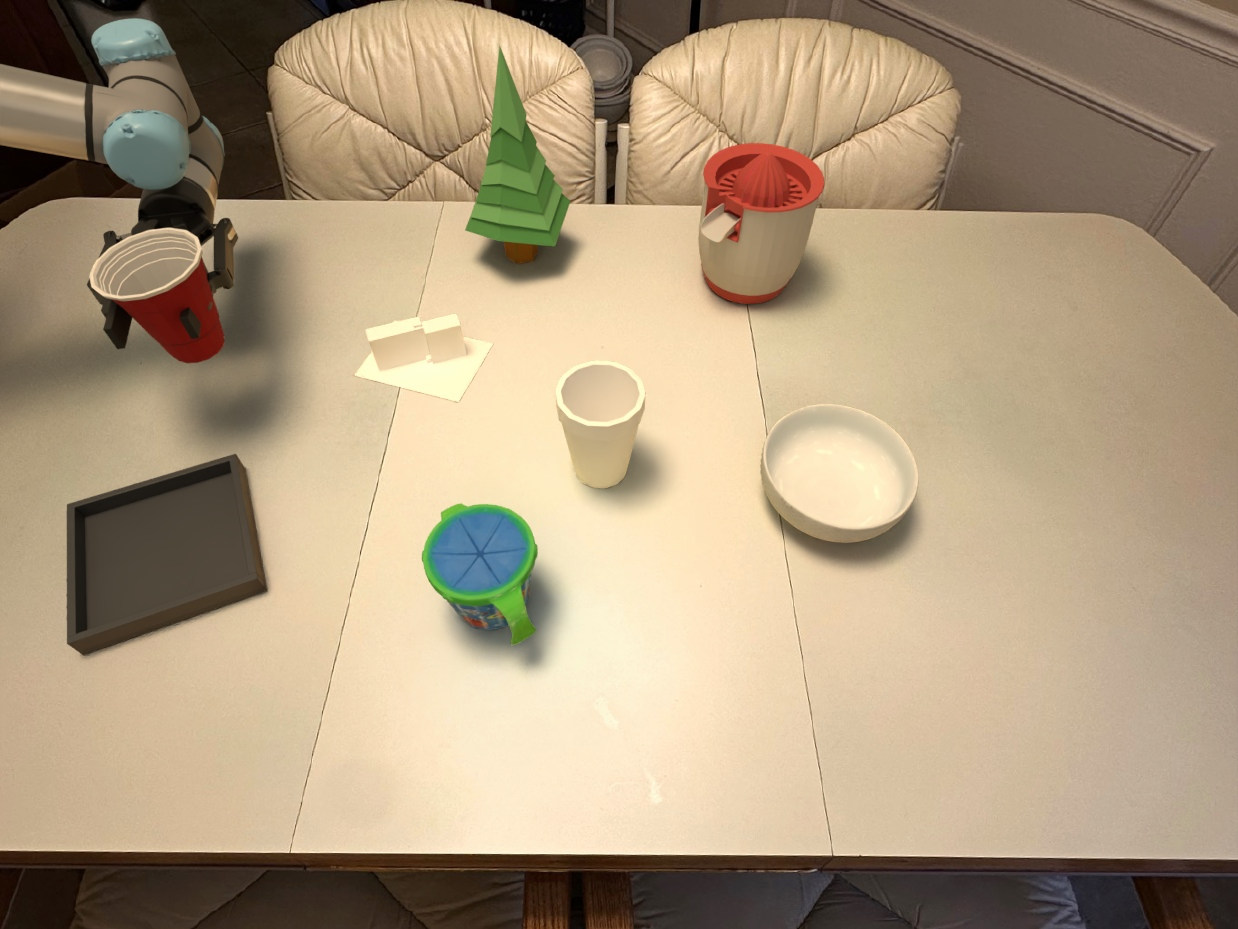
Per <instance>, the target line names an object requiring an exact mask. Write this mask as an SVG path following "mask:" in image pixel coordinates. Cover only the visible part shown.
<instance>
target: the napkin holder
mask: <svg viewBox="0 0 1238 929" xmlns="http://www.w3.org/2000/svg"><path fill="white" fill-rule="evenodd" d="M365 333H366V337H367V340H368V343H369V347H370V349H371V352H370V353H369V354H368V356H367V357H366V358H365V360H364V361H363V362H362V364H361V365H360V367H359V368H358V369H357V371H356V372H355V374H354V377H358V378H362V379H366V380H368V381H374V382H378V383H382V384H385V385H388V386H389V385H390V386H393V387H397V388H402V389H405V390H409V391H413V392H417V393H422V394H425V395H429V396H432V397H437V398H441V399H445V400H449V401H453V402H457V403H459V402H460V401H461V399H462V397H463V396H464V394H465V392H466V391H467V389H468V387H469V386H470V384H471V382H472V380H473V379H474V377H476V374H477V372H478V371H479V369H480V367H481V366H482V364H483V362H484V360H485V359H486V358H487V355H488V354H489V352H490V351H491V349H492V347H493V345H494V343H493V342H488V341H485V340H481V339H480V340H479V339H475V338H471V337H467V336H464V335H463V329H462V325H461V321H460V319H459V317H458V315H457V313H451V314H448V315H444V316H440V317H436V318H432V319H427V320H424V321H421V317H420V316H415V317H411V318H406V319H401V320H393V322H389V323H386V324H382V325H378V326H374V327H370V328H366V329H365Z"/></svg>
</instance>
